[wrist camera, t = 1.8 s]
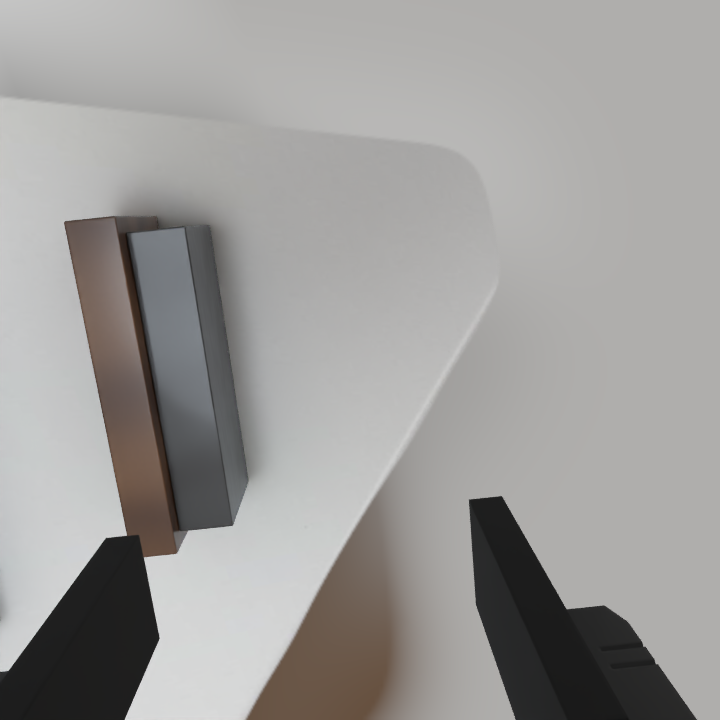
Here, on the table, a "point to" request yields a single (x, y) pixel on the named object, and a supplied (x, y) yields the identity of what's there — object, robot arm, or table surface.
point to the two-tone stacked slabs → (161, 374)
